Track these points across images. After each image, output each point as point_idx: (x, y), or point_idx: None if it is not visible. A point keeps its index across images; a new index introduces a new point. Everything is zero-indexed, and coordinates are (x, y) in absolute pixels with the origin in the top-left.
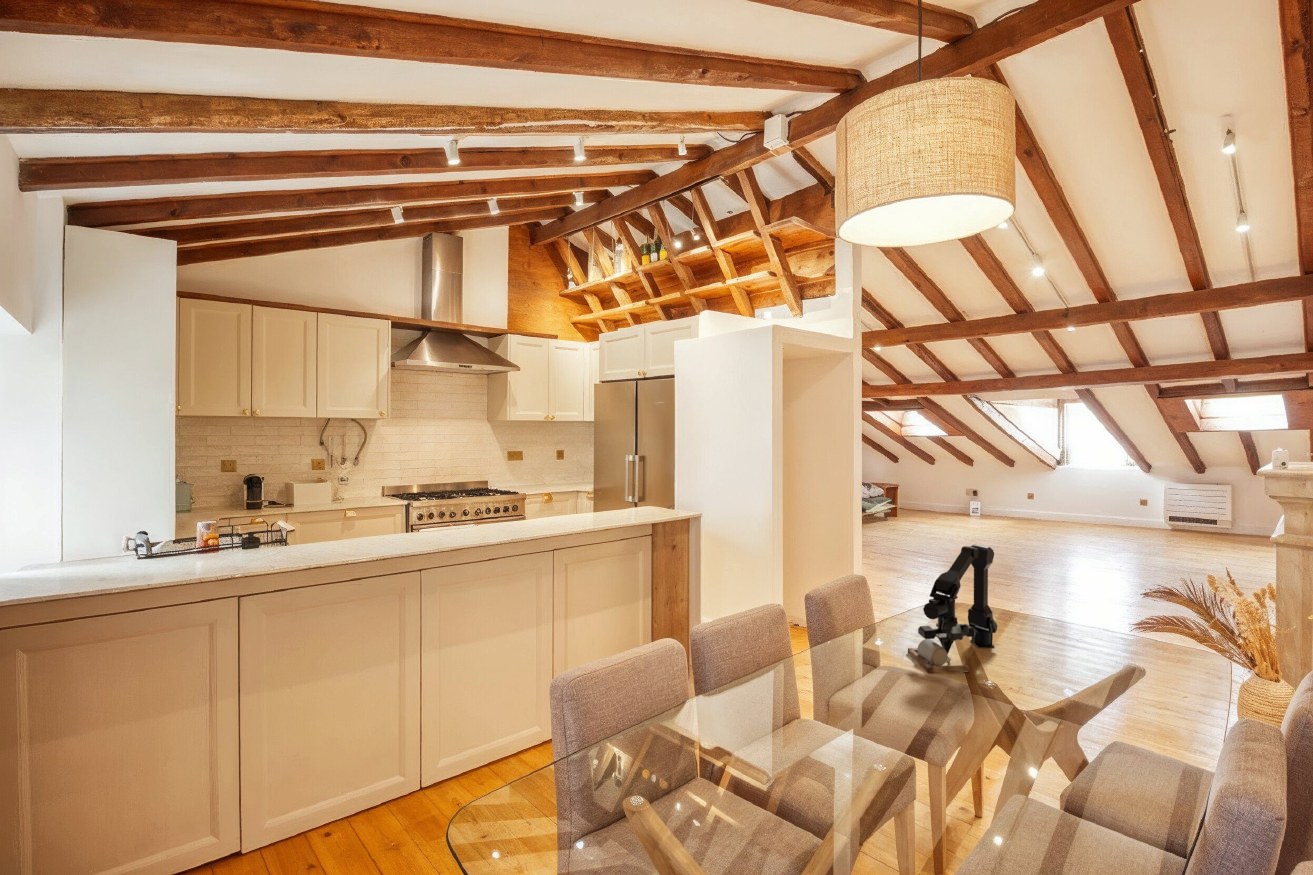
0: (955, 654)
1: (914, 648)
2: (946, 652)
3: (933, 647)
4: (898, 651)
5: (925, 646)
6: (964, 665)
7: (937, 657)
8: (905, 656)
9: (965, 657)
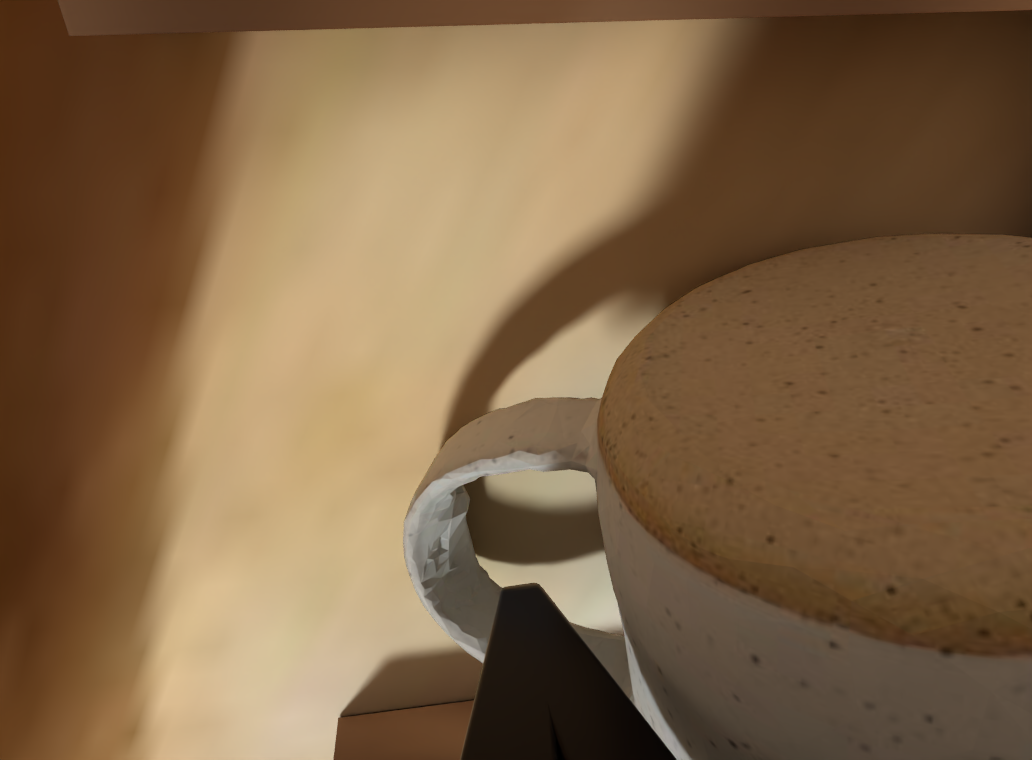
0: (203, 719)
1: None
2: (736, 505)
3: None
4: None
5: None
6: (179, 11)
7: (1029, 319)
8: None
9: (41, 652)
